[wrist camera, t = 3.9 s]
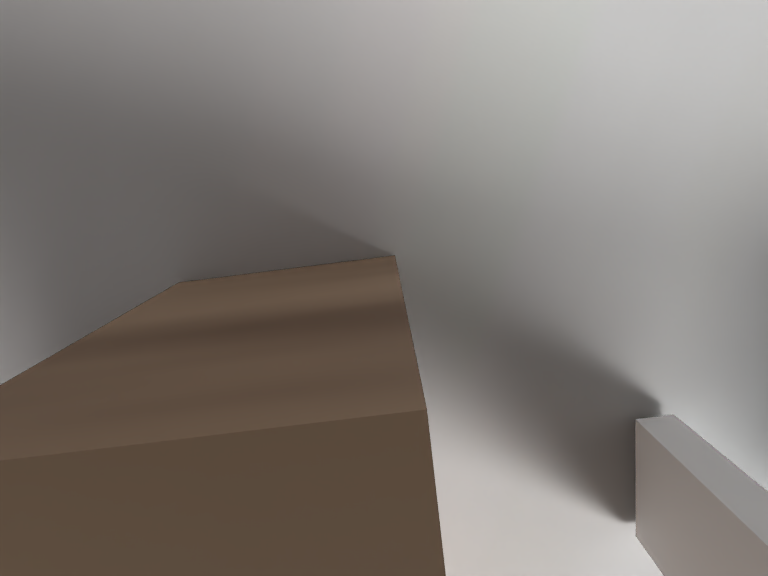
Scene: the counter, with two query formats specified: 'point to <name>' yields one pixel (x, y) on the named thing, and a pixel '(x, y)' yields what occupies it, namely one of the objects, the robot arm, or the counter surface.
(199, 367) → the brown wooden block
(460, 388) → the counter surface
